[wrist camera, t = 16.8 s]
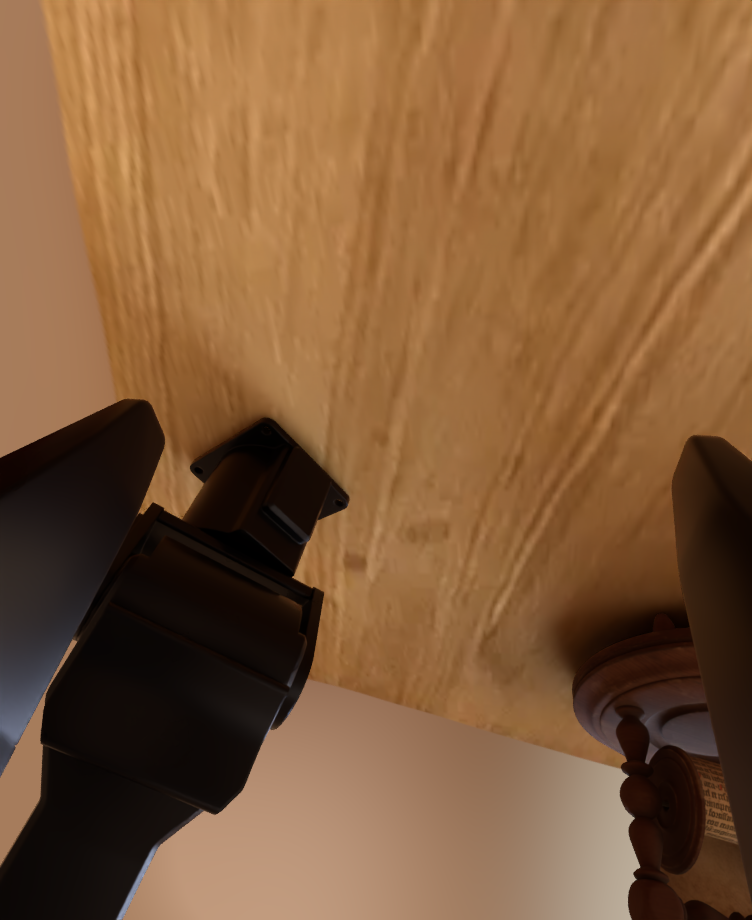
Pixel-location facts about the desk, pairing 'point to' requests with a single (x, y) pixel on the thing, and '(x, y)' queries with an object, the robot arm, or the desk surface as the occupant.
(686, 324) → the desk surface
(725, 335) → the desk surface
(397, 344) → the desk surface
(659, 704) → the wooden thread spool holder
